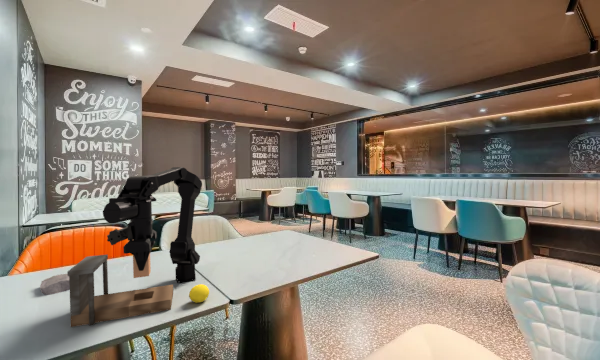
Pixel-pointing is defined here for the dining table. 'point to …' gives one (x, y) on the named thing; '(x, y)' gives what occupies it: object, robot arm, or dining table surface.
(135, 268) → the peg
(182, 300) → the dining table surface
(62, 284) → the stone block
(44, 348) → the dining table surface
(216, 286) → the dining table surface
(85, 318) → the socket stand
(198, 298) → the lemon
